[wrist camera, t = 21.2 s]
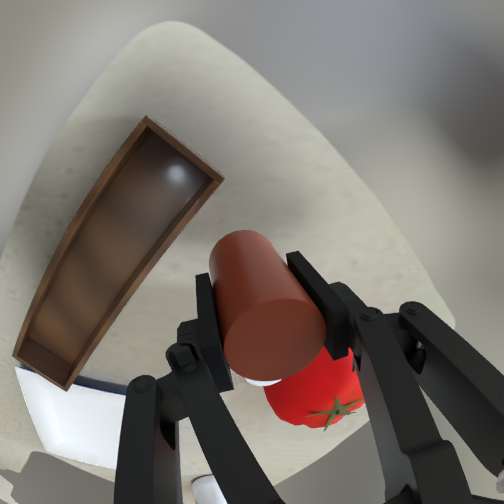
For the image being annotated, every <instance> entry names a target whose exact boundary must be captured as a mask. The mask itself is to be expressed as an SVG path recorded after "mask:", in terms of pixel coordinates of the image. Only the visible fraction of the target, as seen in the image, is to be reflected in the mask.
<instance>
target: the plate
mask: <svg viewBox="0 0 504 504" xmlns="http://www.w3.org/2000/svg"><path fill="white" fill-rule="evenodd" d="M15 370H16V374H17V377H18V381H19V384H20V387H21V390H22V393H23V396H24V399H25V402H26V405H27V408H28V410H29V413H30V416H31V418H32V421H33V423H34V426H35V428H36V431H37V433H38V435H39V438H40V440H41V442H42V444H43V447H44V449H45V450H46V451H47V452H49V453H52V454H55V455H59V456H62V457H65V458H69V459H72V460H76V461H80V462H84V463H88V464H92V465H97V466H101V467H106V468H111V469H116V465H117V456H118V447H119V439H120V431H121V424H122V417H123V410H124V404H125V397H126V395H123V394H118V393H113V392H108V391H104V390H99V389H95V388H90V387H86V386H82V385H78V384H74V383H73V384H72V385H71V387H70V388H69V390H68V391H67V392H66V391H64V390H62V389H61V388H59V387H57V386H56V385H54V384H52V383H51V382H49V381H48V380H46V379H45V378H43V377H42V376H40V375H38V374H37V373H35V372H33V371H30V370H27V369H24V368H21V367H15Z"/></svg>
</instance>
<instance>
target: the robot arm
mask: <svg viewBox="0 0 504 504" xmlns="http://www.w3.org/2000/svg"><path fill="white" fill-rule="evenodd" d="M286 257H287V264H288V268H289V269H290V270H291V272H292V273H293V274H294V276H295V277H296V279H297V280H298V281H299V283H300V284H301V285H302V287H303V288H304V290H305V291H306V292H307V294H308V295H309V297H310V298H311V299H312V301H313V302H314V304H315V305H316V306H317V308H318V309H319V311H320V312H321V313H322V315H323V317H324V319H325V322H326V331H327V333H326V339H325V343H324V346H325V348H326V350H327V351H328V353H329V355H330V356H331V358H332V359H333V361H335V360H338V359H341V358H344V357H346V356H348V354H349V348H350V349H351V350H352V352H353V363H352V372H355V369H356V373H357V376H358V379H359V383H360V386H361V390H362V393H363V397H364V400H365V404H366V407H367V411H368V415H369V418H370V422H371V426H372V429H373V434H374V438H375V441H376V445H377V450H378V454H379V458H380V462H381V466H382V471H383V475H384V479H385V501H386V502H385V503H384V504H504V501H502V500H497V499H491V498H486V497H481V496H477V495H472V494H471V492H470V489H469V487H468V483H467V480H466V477H465V475H464V472H463V469H462V466H461V464H460V461H459V458H458V456H457V453H456V451H455V448H454V446H453V445H452V443H451V442H450V441H448V440H443V439H442V438H441V436H440V434H439V432H438V429H437V427H436V424H435V422H434V419H433V417H432V415H431V412H430V410H429V408H428V405H427V403H426V401H425V398H424V396H423V394H422V392H421V390H420V387H421V388H422V390H423V391H424V392H425V393H426V394H427V396H428V397H429V398H430V399H431V400H432V402H433V403H434V404H435V405H436V407H437V408H438V409H439V410H440V411H441V413H442V414H443V415H444V416H445V418H446V419H447V420H448V421H449V423H450V424H451V425H452V426H453V427H454V429H455V430H456V431H457V432H458V434H459V435H460V436H461V438H462V439H463V440H464V442H465V443H466V444H467V445H468V447H469V448H470V449H471V451H472V452H473V453H474V455H475V456H476V457H477V458H478V460H479V461H480V462H481V463H482V464H483V466H484V467H485V468H486V469H487V470H489V471H490V472H491V473H492V474H493V475H495V476H496V477H498V482H497V484H496V490H497V492H498V493H504V375H502V374H501V373H500V372H499V371H498V370H497V369H496V368H495V367H494V366H493V365H492V364H491V363H490V362H489V361H488V360H486V359H485V358H484V357H483V356H482V355H481V354H480V353H479V352H478V351H476V350H475V349H474V348H473V347H472V346H471V345H470V344H469V343H468V342H467V341H465V340H464V339H463V338H462V337H461V336H460V335H459V334H457V333H456V332H455V331H454V330H453V329H452V328H451V327H449V326H448V325H447V324H446V323H445V322H444V321H442V320H441V319H440V318H439V317H438V316H437V315H435V314H434V313H433V312H432V311H431V310H429V309H428V308H427V307H426V306H424V305H423V304H421V303H419V302H414V301H410V302H405V303H404V304H402V305H401V306H400V308H399V312H398V313H391V314H383V313H382V312H381V311H380V310H379V309H377V308H374V307H367V306H366V305H365V304H364V303H363V301H362V300H361V299H360V298H359V297H358V296H357V295H355V293H354V292H353V291H351V289H350V288H349V287H348V286H347V285H345V284H343V283H341V282H335V283H332V284H328V283H327V282H326V281H325V280H324V279H323V278H322V277H321V275H320V274H319V273H318V272H317V271H316V270H315V269H314V268H313V267H312V265H311V264H310V263H309V262H308V261H307V260H306V259H305V258H304V257H303V255H302V254H301V253H300V252H299V251H295V252H291V253H287V254H286ZM195 277H196V297H197V314H198V319H194V320H190V321H185V322H181V324H180V326H179V327H178V329H177V343H175V344H173V345H171V346H170V347H169V348H168V349H167V351H166V358H167V361H168V363H169V365H170V367H171V369H172V372H170V373H169V374H168V375H166V376H164V377H162V378H159V379H157V380H156V379H155V378H154V377H152V376H149V375H142V376H139V377H136V378H135V379H133V380H132V381H131V382H130V383H129V385H128V387H127V391H126V397H125V404H124V410H123V417H122V424H121V431H120V439H119V447H118V456H117V465H116V476H115V490H114V504H183V499H182V486H181V470H180V450H179V420H182V419H184V418H186V417H188V416H189V419H190V421H191V424H192V426H193V429H194V431H195V434H196V436H197V439H198V441H199V443H200V446H201V448H202V451H203V453H204V455H205V458H206V460H207V462H208V464H209V467H210V469H211V471H212V473H213V475H214V477H215V480H216V482H217V484H218V486H219V488H220V490H221V492H222V494H223V496H224V498H225V500H226V502H227V504H286V503H284V501H283V500H282V499H281V498H280V497H279V495H278V494H277V492H276V490H275V489H274V487H273V486H272V484H271V483H270V481H269V480H268V478H267V476H266V475H265V473H264V472H263V470H262V468H261V467H260V465H259V463H258V462H257V460H256V458H255V457H254V455H253V453H252V452H251V450H250V448H249V447H248V445H247V443H246V441H245V440H244V438H243V436H242V435H241V433H240V431H239V429H238V427H237V426H236V424H235V422H234V420H233V418H232V417H231V415H230V413H229V411H228V409H227V407H226V405H225V404H224V402H223V400H222V398H221V396H220V394H219V393H221V392H225V391H230V390H234V387H233V382H232V377H231V373H230V368H229V365H228V363H227V362H226V359H225V356H224V353H223V347H222V342H221V336H220V330H219V324H218V318H217V312H216V306H215V300H214V294H213V288H212V285H211V281H210V277H209V273H204V274H200V275H195ZM419 386H420V387H419Z"/></svg>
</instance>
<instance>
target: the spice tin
mask: <svg viewBox="0 0 504 504" xmlns="http://www.w3.org/2000/svg"><path fill="white" fill-rule="evenodd" d="M209 268H210V275H211V281H212V288H213V294H214V300H215V306H216V312H217V318H218V324H219V330H220V336H221V342H222V347H223V353H224V356H225V359H226V362H227V363H228V365H229V366H230V368H231V369H232V370H233V371H234V372H236V373H237V374H239V375H240V376H242V377H244V378H247V379H250V380H254V381H275V380H280V379H284V378H287V377H290V376H292V375H294V374H296V373H298V372H300V371H301V370H303V369H304V368H306V367H307V366H308V365H309V364H310V363H312V361H313V360H314V359H315V358H316V357H317V356H318V354H319V353H320V351H321V350H322V347H323V345H324V343H325V339H326V333H327V331H326V322H325V319H324V317H323V315H322V313H321V312H320V311H319V309H318V308H317V306H316V305H315V304H314V302H313V301H312V299H311V298H310V297H309V295H308V294H307V292H306V291H305V290H304V288H303V287H302V285H301V284H300V283H299V281H298V280H297V279H296V277H295V276H294V274H293V273H292V272H291V270H290V269H289V268H288V266H287V265H286V263H285V262H284V261H283V259H282V258H281V257H280V255H279V254H278V252H277V251H276V250H275V248H274V247H273V246H272V244H271V243H270V242H269V241H268V239H266V238H265V237H264V236H263V235H261V234H259V233H257V232H254V231H247V230H242V231H236V232H233V233H230V234H228V235H226V236H225V237H223V238H222V239H221V240H219V241H218V243H217V244H216V245H215V246H214V248H213V250H212V252H211V255H210V259H209Z"/></svg>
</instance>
